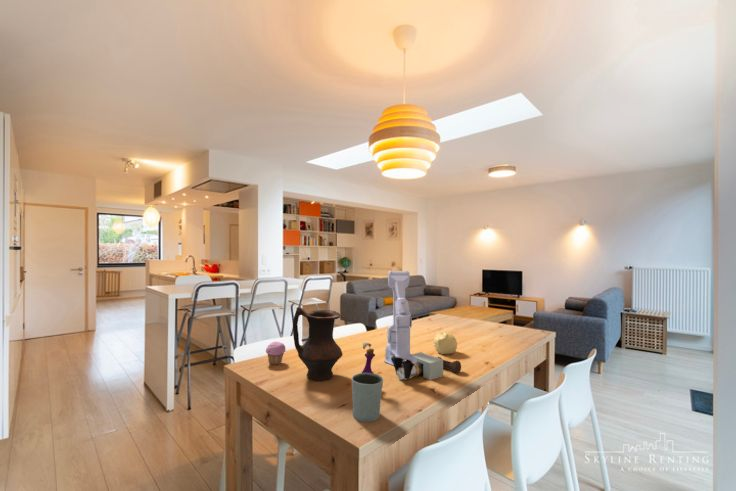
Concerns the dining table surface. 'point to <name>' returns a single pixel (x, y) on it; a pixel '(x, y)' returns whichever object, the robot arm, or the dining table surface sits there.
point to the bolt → (452, 365)
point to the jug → (318, 343)
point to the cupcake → (275, 352)
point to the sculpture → (445, 343)
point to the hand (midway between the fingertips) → (402, 376)
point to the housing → (430, 365)
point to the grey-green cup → (366, 396)
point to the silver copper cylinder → (415, 371)
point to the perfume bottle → (368, 358)
